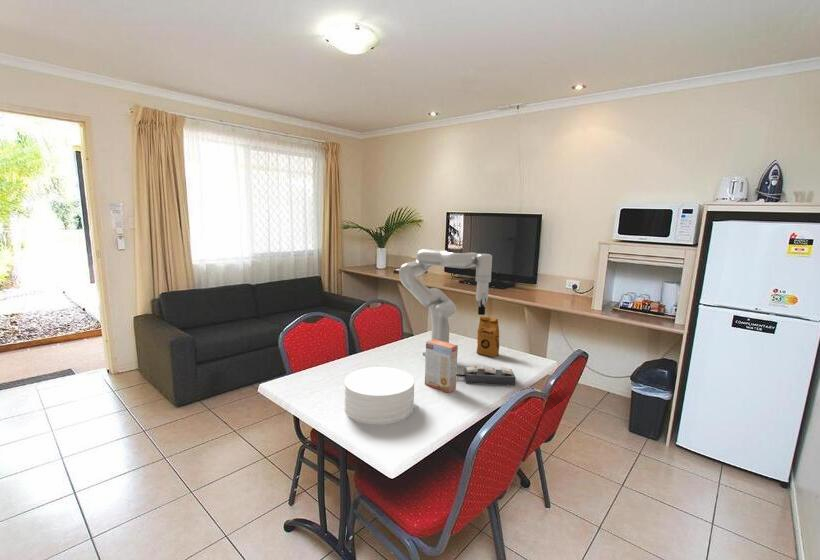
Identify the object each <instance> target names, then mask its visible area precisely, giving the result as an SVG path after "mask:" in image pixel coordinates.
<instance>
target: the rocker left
mask: <svg viewBox="0 0 820 560" xmlns="http://www.w3.org/2000/svg"><path fill="white" fill-rule="evenodd" d="M465 368H467V373H468V372H475V371H478V369H479V368H478V365H472V366H466V367H465Z"/></svg>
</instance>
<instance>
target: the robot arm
mask: <svg viewBox="0 0 820 560" xmlns="http://www.w3.org/2000/svg"><path fill="white" fill-rule="evenodd" d="M492 265H493V255H492V254H490V253H477V252H473V251H472V252H463V253H462V252H451V251H450V252H449V251H448V250H446V249H435V248H432V247H431V248H428V247H427V248H423V249H420V250H418V252H417V253H416V261H409V262H406V263H403V264H402V265H401V266H400V267H399V270H398V277H399V280H400V282H401V284H402V286H403V287H404V288H405V289H407V290H408V292H409V293H410V294H411V295H412V296H413V297H414V298H415V299H416V300H417V301H418V302H419V303H420V304H421V305H422V306H423V307H425V308H430V307H432V308H431V310H430V320H431V338H430V340H432V339H435V340H439V341H443V342H446V343H450V322H449V320H450V319H451V318H453V317H454V316H456V313H457V307H456V304H455V303H454V302H453V301H452V299H451V298H449V297H448V296H447V295H446V294H445V292H443V291H442V290H440V289H439V288H436V287H431V288H429V287H427V286H426V284H424V282H423V281H421V280H420V279H418V278H416V277H420V276H422V275H423V274H425V273H426V272H427V271H428V270H429V269H431V267H433V266H435V267H436V266H439V267H445V268H453V269H468V268H474V267H475V268H476V269H475V283H476V282H477V283H476V291H475V292H476V293H475V301H477V303H478V306H477V307H478V310H477V314H478V315H479V316H485V315H486V303H487V302H488V298H489V283H492V267H493V266H492ZM422 356H423V357H425V358H426V351H422Z"/></svg>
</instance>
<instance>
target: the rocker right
mask: <svg viewBox="0 0 820 560" xmlns="http://www.w3.org/2000/svg"><path fill="white" fill-rule="evenodd" d="M500 370H502V372H503V373H507V374H511V375H513V373H514V371H513V369H512V368H508V367H505V366H501V368H500Z"/></svg>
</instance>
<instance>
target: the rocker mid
mask: <svg viewBox="0 0 820 560" xmlns="http://www.w3.org/2000/svg"><path fill="white" fill-rule="evenodd" d="M483 369H484V370H485V372H489V373H494V374H496V370H497V369H496V368H495V367H490V366H487V365H485V366H484V368H483Z"/></svg>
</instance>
